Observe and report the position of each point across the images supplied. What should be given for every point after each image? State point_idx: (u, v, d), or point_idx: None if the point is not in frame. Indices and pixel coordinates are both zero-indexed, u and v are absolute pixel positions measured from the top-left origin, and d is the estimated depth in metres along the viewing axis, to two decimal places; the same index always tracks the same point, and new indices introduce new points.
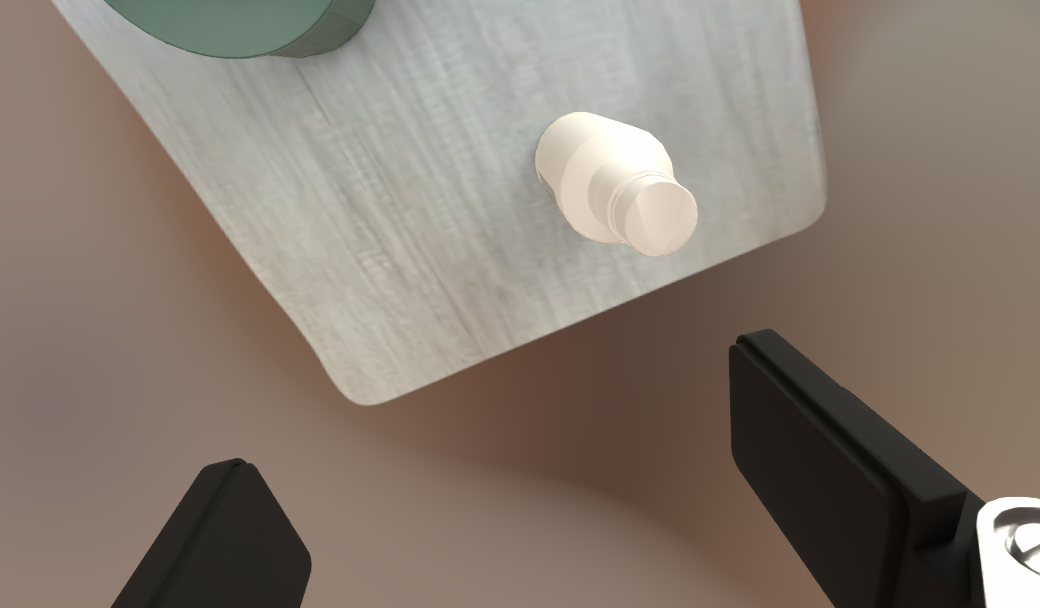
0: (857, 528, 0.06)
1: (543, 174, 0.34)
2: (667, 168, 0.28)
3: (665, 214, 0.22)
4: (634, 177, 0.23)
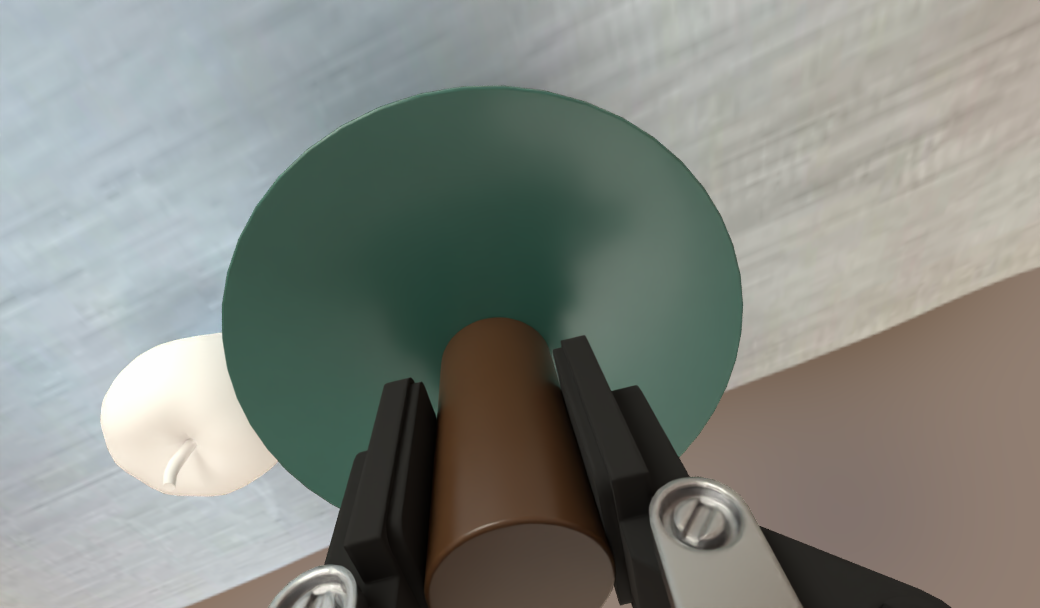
0: (597, 505, 0.07)
1: None
2: None
3: None
4: None
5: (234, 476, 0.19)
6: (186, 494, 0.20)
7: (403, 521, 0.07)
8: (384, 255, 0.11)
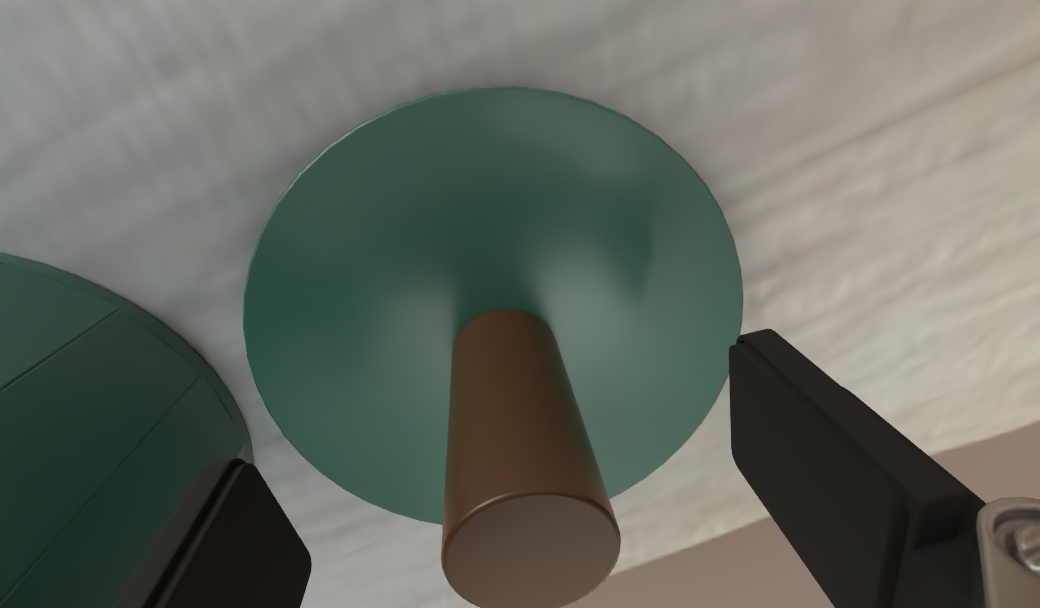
0: (857, 528, 0.06)
1: None
2: None
3: None
4: None
5: None
6: None
7: None
8: (399, 248, 0.11)
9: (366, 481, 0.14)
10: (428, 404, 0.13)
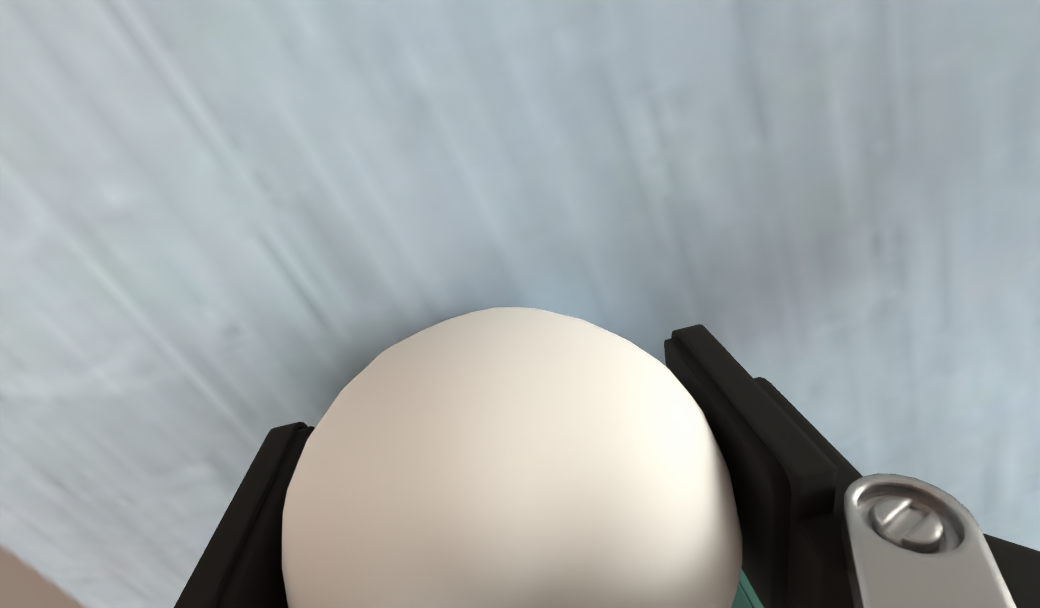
0: (755, 505, 0.07)
1: None
2: None
3: None
4: None
5: None
6: None
7: (238, 600, 0.06)
8: None
9: None
10: None
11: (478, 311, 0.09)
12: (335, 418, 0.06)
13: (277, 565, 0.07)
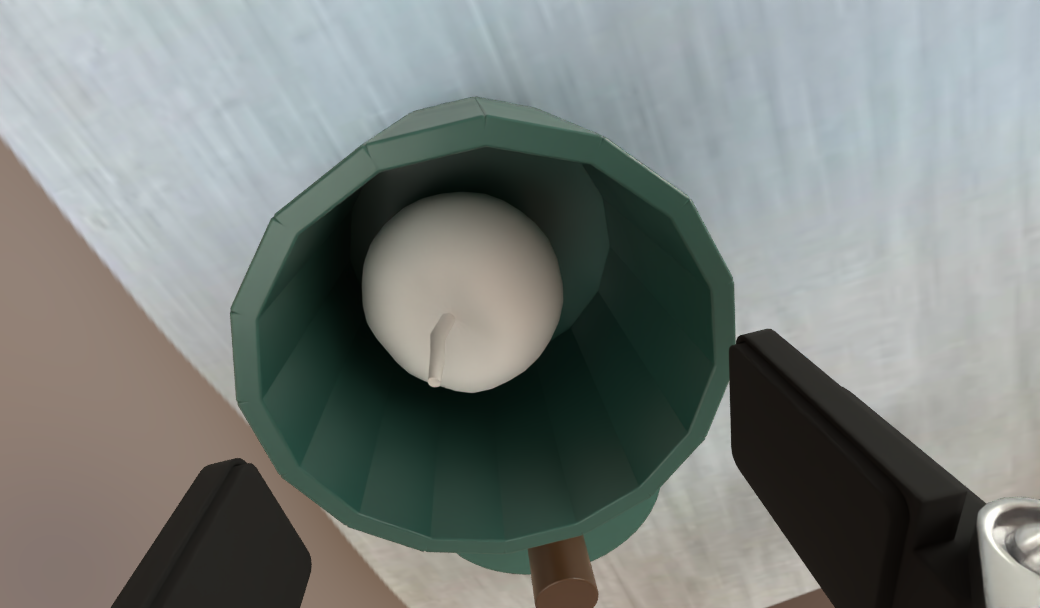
0: (857, 528, 0.06)
1: None
2: None
3: None
4: None
5: (405, 360, 0.16)
6: (374, 299, 0.15)
7: None
8: None
9: None
10: None
11: None
12: None
13: None
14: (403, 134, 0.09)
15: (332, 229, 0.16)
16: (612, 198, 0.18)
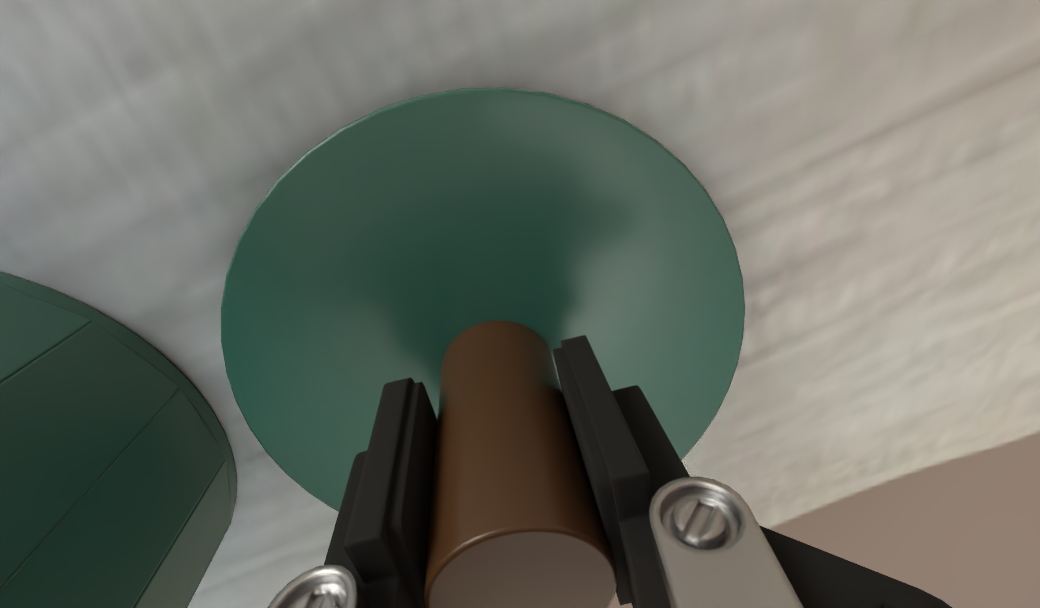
0: (598, 505, 0.07)
1: None
2: None
3: None
4: None
5: None
6: None
7: (403, 521, 0.07)
8: (384, 258, 0.11)
9: None
10: None
11: None
12: None
13: (419, 499, 0.08)
14: None
15: None
16: None
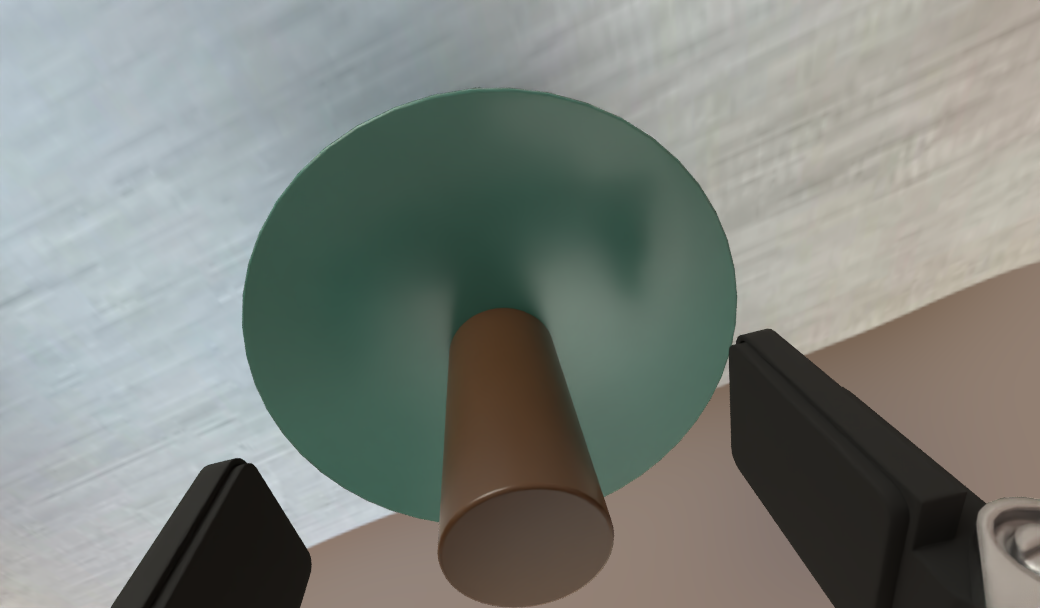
0: (857, 528, 0.06)
1: None
2: None
3: None
4: None
5: None
6: None
7: None
8: (396, 248, 0.11)
9: (364, 479, 0.14)
10: (425, 402, 0.13)
11: None
12: None
13: None
14: None
15: None
16: None
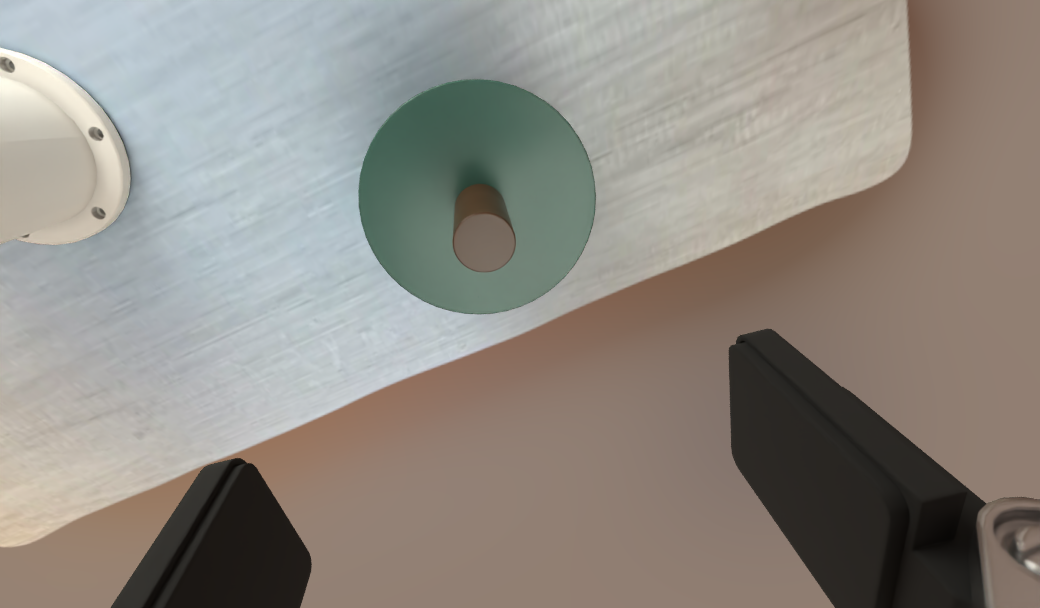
0: (857, 528, 0.06)
1: None
2: None
3: None
4: None
5: None
6: None
7: None
8: (431, 152, 0.25)
9: (411, 280, 0.28)
10: (443, 235, 0.27)
11: None
12: None
13: None
14: None
15: None
16: None
